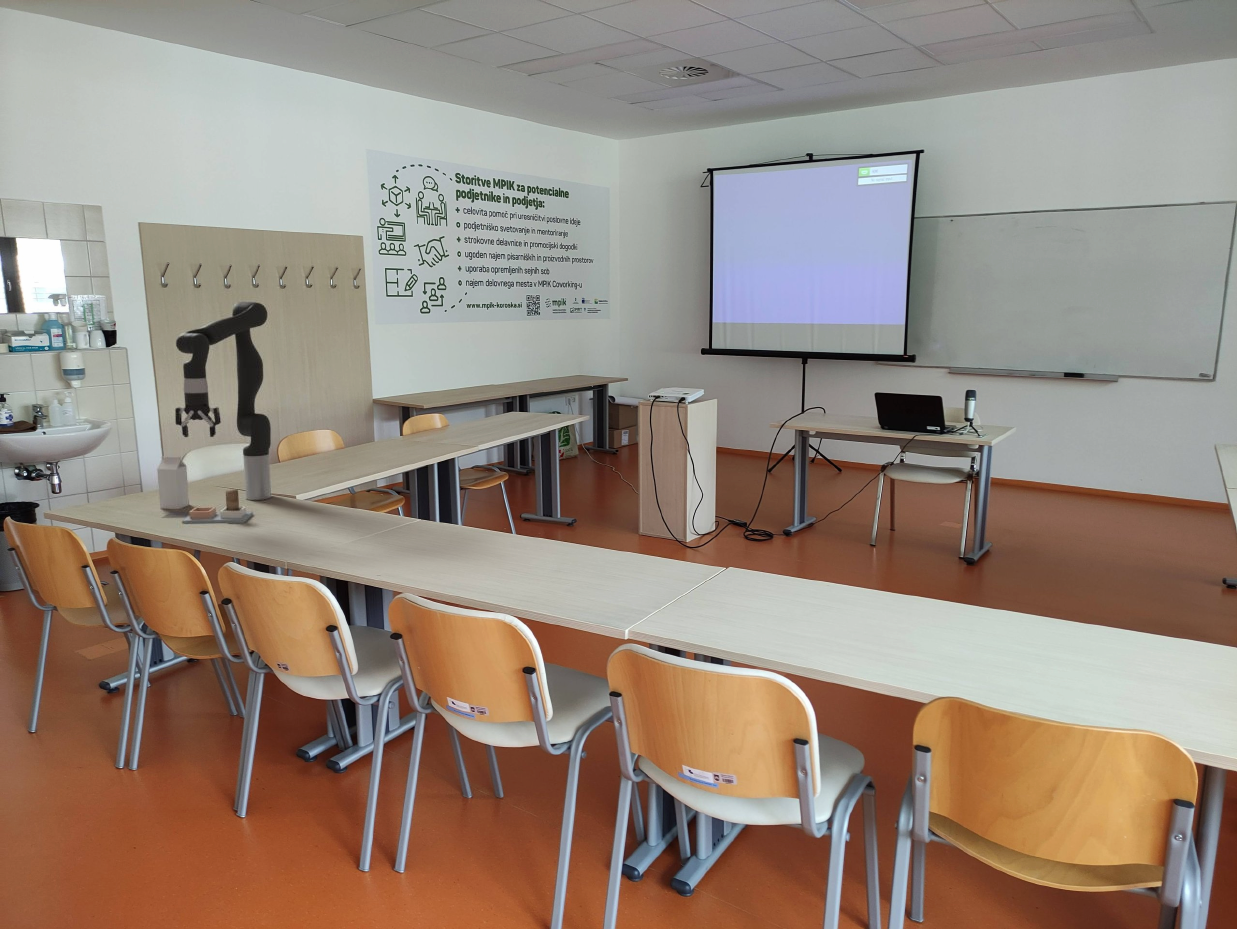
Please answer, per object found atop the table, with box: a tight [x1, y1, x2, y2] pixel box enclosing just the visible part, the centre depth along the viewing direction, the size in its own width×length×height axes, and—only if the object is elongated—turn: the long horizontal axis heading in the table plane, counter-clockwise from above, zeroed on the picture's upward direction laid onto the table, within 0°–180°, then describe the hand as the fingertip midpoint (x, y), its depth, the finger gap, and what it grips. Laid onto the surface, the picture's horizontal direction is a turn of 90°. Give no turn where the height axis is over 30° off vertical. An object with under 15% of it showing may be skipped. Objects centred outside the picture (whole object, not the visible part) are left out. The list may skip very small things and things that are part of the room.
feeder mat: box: [161, 510, 191, 519], centre depth 303 cm, size 9×9×1 cm
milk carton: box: [156, 456, 190, 510], centre depth 313 cm, size 7×7×19 cm
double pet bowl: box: [181, 506, 254, 524], centre depth 298 cm, size 12×20×4 cm, turn 99°
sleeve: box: [225, 488, 240, 511], centre depth 298 cm, size 4×4×9 cm
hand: (199, 436), depth 300 cm, fingers open, 8 cm apart
